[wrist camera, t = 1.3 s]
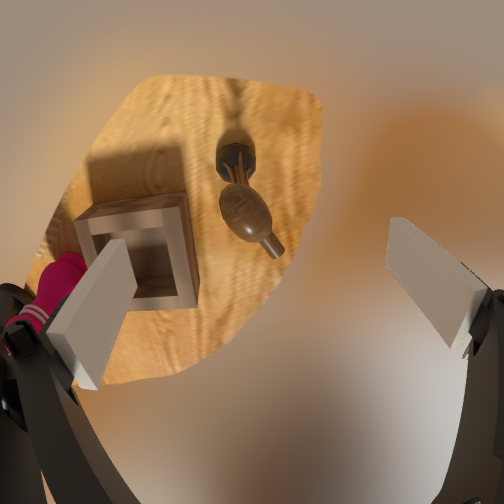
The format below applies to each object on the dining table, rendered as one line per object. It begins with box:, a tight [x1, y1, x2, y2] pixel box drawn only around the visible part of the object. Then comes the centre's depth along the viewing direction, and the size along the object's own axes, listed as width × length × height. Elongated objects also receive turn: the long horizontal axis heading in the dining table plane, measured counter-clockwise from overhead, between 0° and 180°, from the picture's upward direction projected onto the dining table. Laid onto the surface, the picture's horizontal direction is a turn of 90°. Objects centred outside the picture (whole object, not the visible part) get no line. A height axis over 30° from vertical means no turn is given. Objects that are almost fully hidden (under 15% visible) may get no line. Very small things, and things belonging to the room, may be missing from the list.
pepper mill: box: [4, 252, 88, 355], centre depth 29 cm, size 7×7×20 cm
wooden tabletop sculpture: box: [216, 143, 285, 259], centre depth 24 cm, size 6×5×20 cm
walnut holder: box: [73, 191, 200, 311], centre depth 34 cm, size 13×13×6 cm
